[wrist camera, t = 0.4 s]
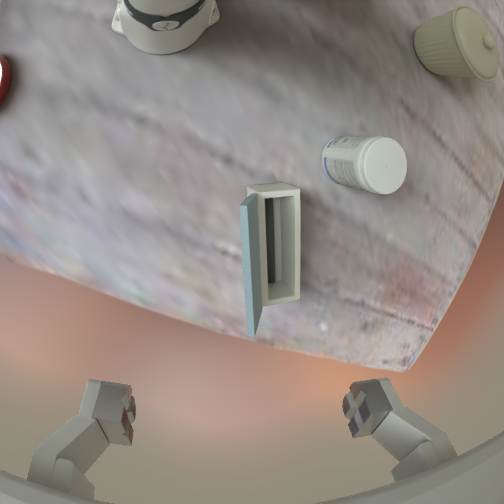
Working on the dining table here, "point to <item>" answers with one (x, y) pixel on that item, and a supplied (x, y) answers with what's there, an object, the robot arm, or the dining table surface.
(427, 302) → the dining table surface
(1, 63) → the frying pan
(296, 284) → the beige open box
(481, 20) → the canister
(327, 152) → the supplement tub
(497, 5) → the dining table surface
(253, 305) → the cover
